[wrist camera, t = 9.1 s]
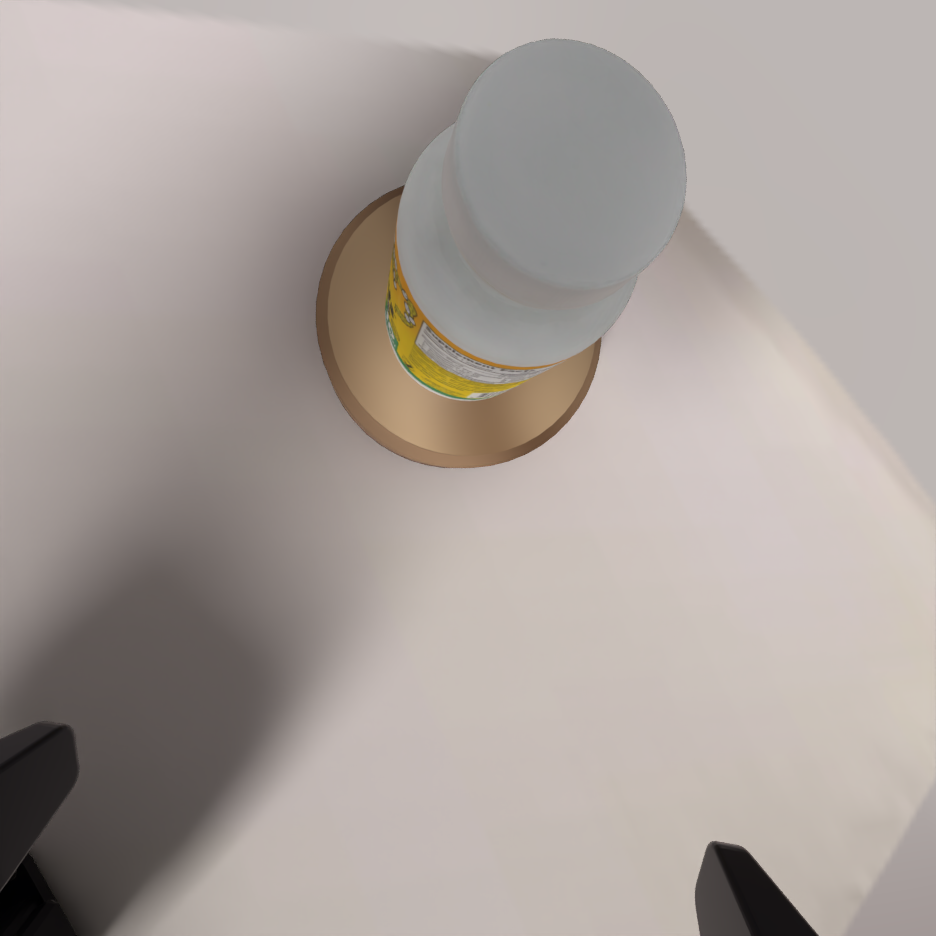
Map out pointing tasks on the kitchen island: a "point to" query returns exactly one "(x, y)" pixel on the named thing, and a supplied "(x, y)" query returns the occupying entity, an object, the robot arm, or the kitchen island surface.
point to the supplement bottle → (531, 219)
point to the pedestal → (398, 395)
